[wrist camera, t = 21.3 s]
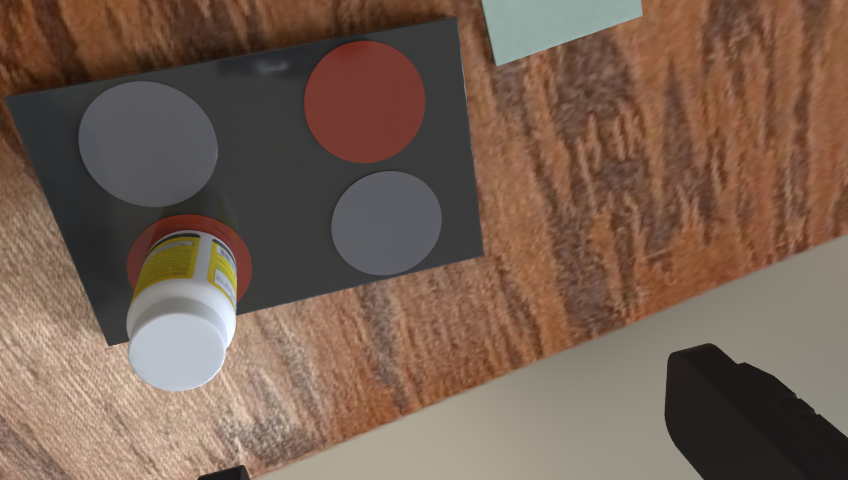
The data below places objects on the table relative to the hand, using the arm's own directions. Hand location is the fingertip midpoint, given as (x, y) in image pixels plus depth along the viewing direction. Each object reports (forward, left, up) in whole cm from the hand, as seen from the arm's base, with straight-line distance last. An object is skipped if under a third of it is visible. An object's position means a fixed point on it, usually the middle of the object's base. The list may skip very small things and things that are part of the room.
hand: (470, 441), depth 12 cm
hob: (+3, -3, -26) cm, 26 cm away
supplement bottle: (+6, -9, -25) cm, 27 cm away
